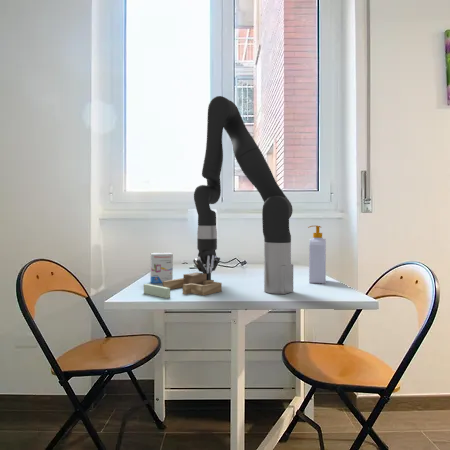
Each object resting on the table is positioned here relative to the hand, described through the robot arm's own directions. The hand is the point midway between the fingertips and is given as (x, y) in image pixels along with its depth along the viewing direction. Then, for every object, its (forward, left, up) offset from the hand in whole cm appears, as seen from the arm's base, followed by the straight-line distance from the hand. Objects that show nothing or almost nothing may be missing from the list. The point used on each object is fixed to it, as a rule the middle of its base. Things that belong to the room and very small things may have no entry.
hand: (207, 282), depth 135 cm
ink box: (+19, +7, -1) cm, 20 cm away
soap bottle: (-28, -35, -1) cm, 45 cm away
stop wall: (0, +24, -1) cm, 24 cm away
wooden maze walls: (-3, +10, -1) cm, 10 cm away
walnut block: (0, +6, -1) cm, 6 cm away
